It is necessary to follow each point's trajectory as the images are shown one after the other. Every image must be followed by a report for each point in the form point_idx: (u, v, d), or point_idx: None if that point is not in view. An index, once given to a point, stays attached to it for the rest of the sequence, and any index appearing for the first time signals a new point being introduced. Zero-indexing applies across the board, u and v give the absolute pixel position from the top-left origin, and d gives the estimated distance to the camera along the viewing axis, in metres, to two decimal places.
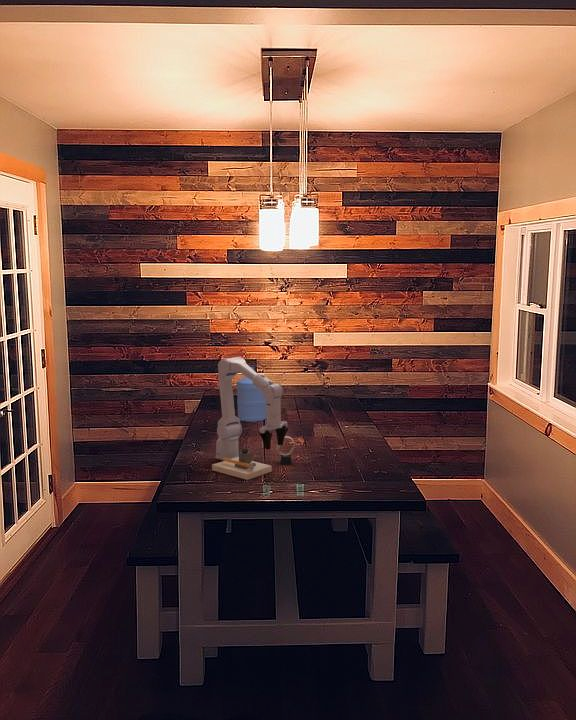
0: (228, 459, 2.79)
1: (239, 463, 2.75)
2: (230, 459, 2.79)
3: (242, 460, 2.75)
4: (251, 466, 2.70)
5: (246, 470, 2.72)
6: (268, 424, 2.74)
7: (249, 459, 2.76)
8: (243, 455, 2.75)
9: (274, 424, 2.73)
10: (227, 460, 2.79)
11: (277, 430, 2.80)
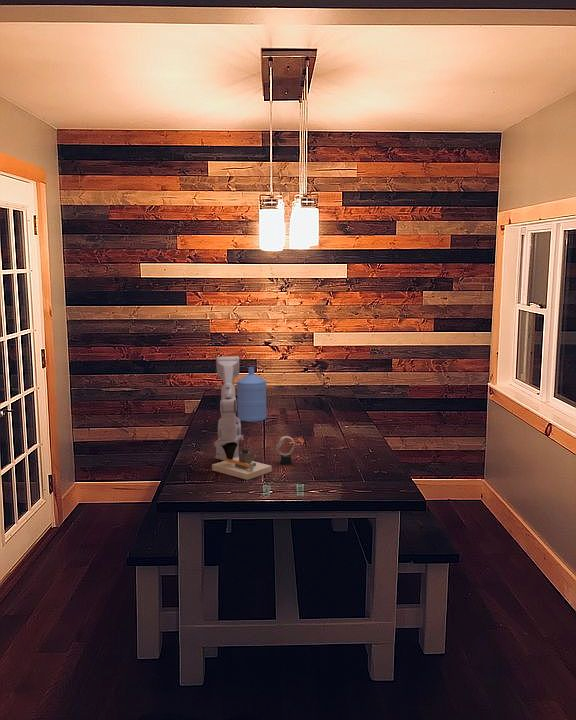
0: (228, 459, 2.79)
1: (239, 463, 2.75)
2: (230, 459, 2.79)
3: (242, 460, 2.75)
4: (251, 466, 2.70)
5: (246, 470, 2.72)
6: (223, 438, 2.77)
7: (249, 459, 2.76)
8: (243, 455, 2.75)
9: (229, 438, 2.76)
10: (227, 460, 2.79)
11: None
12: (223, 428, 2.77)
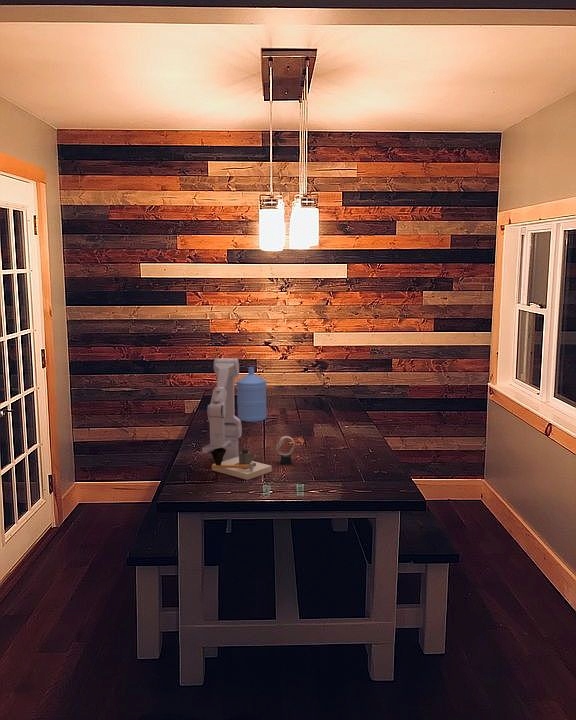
0: (219, 465, 2.71)
1: (235, 466, 2.71)
2: (221, 465, 2.71)
3: (242, 460, 2.75)
4: (252, 466, 2.71)
5: (246, 470, 2.72)
6: (211, 444, 2.69)
7: (249, 459, 2.76)
8: (243, 455, 2.75)
9: (217, 444, 2.68)
10: (218, 467, 2.71)
11: (215, 451, 2.73)
12: (210, 433, 2.69)
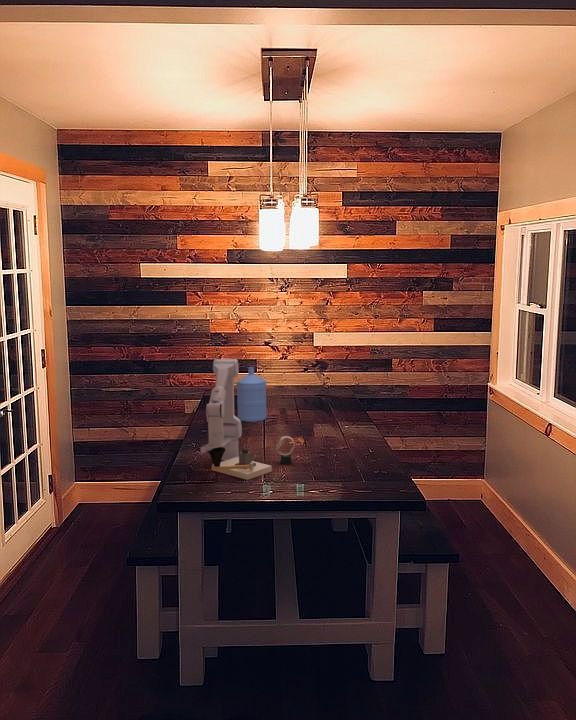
0: (219, 467, 2.69)
1: (235, 467, 2.70)
2: (221, 466, 2.69)
3: (242, 460, 2.75)
4: (253, 466, 2.71)
5: (246, 470, 2.72)
6: (210, 443, 2.67)
7: (249, 459, 2.76)
8: (243, 455, 2.75)
9: (216, 443, 2.67)
10: (218, 468, 2.69)
11: None
12: (209, 432, 2.67)
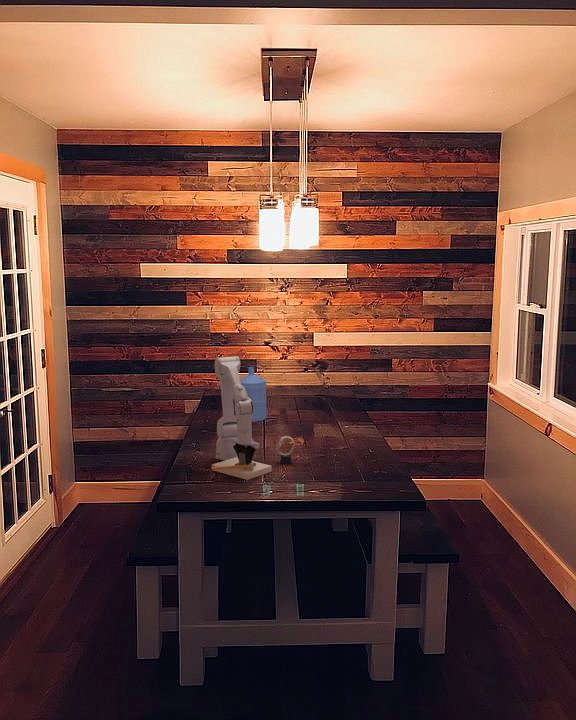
0: (219, 467, 2.69)
1: (235, 467, 2.70)
2: (221, 466, 2.69)
3: (242, 460, 2.75)
4: (253, 466, 2.71)
5: (246, 470, 2.72)
6: (249, 440, 2.74)
7: None
8: (243, 455, 2.75)
9: (251, 438, 2.76)
10: (218, 468, 2.68)
11: (239, 448, 2.77)
12: (240, 430, 2.73)
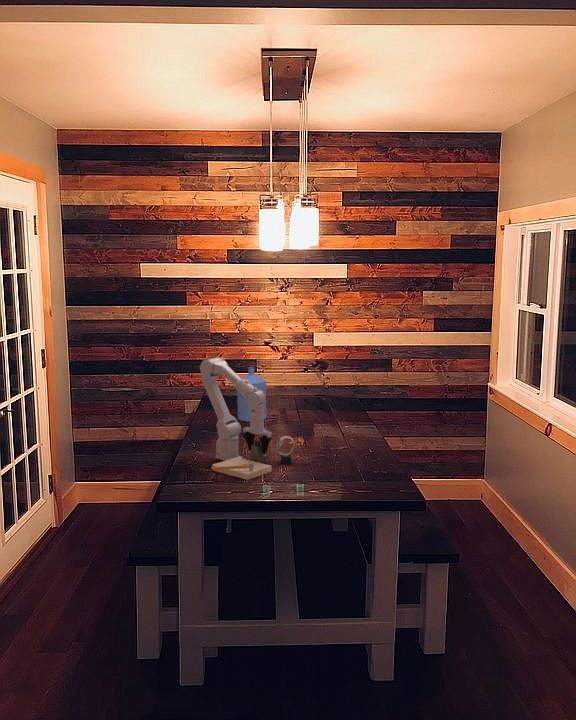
0: (219, 467, 2.69)
1: (235, 467, 2.70)
2: (221, 466, 2.69)
3: (255, 452, 2.86)
4: (253, 466, 2.71)
5: (246, 470, 2.72)
6: (261, 429, 2.85)
7: (261, 451, 2.87)
8: (256, 447, 2.86)
9: None
10: (218, 468, 2.68)
11: (248, 437, 2.89)
12: (257, 420, 2.83)
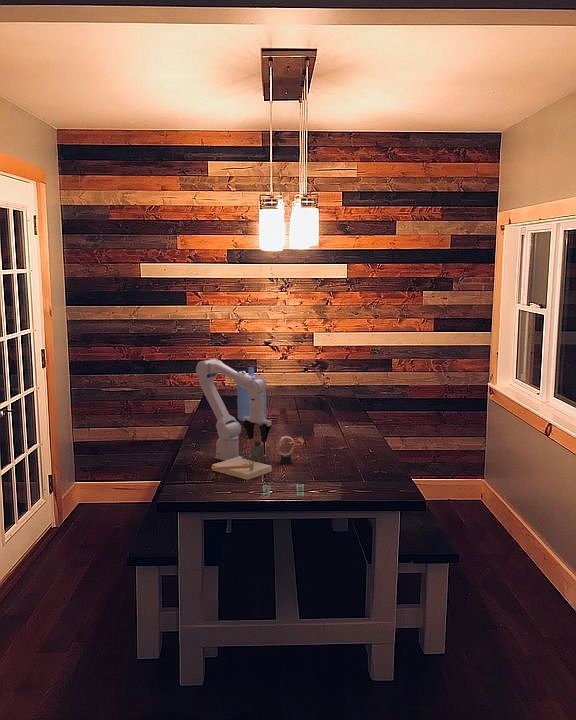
0: (219, 467, 2.69)
1: (235, 467, 2.70)
2: (221, 466, 2.69)
3: (255, 452, 2.86)
4: (253, 466, 2.71)
5: (246, 470, 2.72)
6: (261, 418, 2.84)
7: (261, 451, 2.87)
8: (256, 447, 2.86)
9: (263, 416, 2.86)
10: (218, 468, 2.68)
11: (248, 425, 2.88)
12: (257, 409, 2.83)
